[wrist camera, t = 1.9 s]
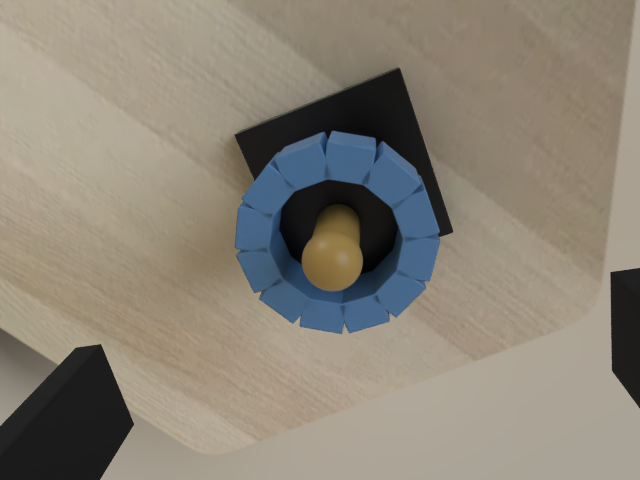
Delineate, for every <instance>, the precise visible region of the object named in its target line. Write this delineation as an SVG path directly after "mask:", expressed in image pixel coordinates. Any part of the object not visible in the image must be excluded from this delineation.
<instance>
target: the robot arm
mask: <svg viewBox="0 0 640 480" xmlns="http://www.w3.org/2000/svg"><path fill="white" fill-rule="evenodd" d="M611 335H612V336H611V338H612V371H613V373H614V374H615V375H616V377H617V378H618V379H619V381H620V382H621V383H622V385H623V386H624V387H625V389H626V390H627V391H628V393H629V394H630V396H631V397H632V398H633V400H634V401H635V402H636V403H637V405H638V406H639V408H640V268H637V269H630V270H623V271H616V272H611ZM133 425H134V423H133V421H132V418H131V416H130V414H129V411H128V409H127V406H126V404H125V401H124V399H123V396H122V394H121V392H120V389H119V387H118V384H117V382H116V379H115V377H114V375H113V372H112V370H111V367H110V365H109V363H108V360H107V358H106V355H105V353H104V350H103V348H102V346H101V344H99V345H92V346H85V347H78V348H75V349H74V350H73V351H72V352H71V353H70V354H69V355H68V356H67V358H66V359H65V360H64V361H63V362H62V363H61V364H60V365H59V366H58V367H57V368H56V369H55V370H54V371H53V372H52V373H51V374H50V375H49V376H48V377H47V378H46V379H45V380H44V382H42V383H41V384H40V386H39V387H38V388H37V389H36V390H35V391H34V392H33V393H32V394H31V395H30V396H29V397H28V398H27V399H26V400H25V401H24V402H23V403H22V404H21V405H20V406H19V407H18V408H17V410H15V411H14V413H13V414H12V415H11V416H10V417H9V418H8V419H7V420H6V421H5V422H4V423H3V424H2V425H1V426H0V480H100V479H101V477H102V475H103V474H104V472H105V470H106V469H107V467H108V466H109V464H110V462H111V461H112V459H113V458H114V456H115V454H116V453H117V451H118V449H119V448H120V446H121V445H122V443H123V441H124V440H125V438H126V437H127V435H128V433H129V432H130V430H131V428H132V427H133Z"/></svg>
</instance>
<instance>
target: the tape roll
mask: <svg viewBox="0 0 640 480" xmlns="http://www.w3.org/2000/svg"><path fill="white" fill-rule="evenodd" d="M327 179H329V180H335V181H341V182H347V183H353V184H359V185H364V186H365V187H366V188H367V189H369V190H370V191H371V192H372V193H374V194H375V195H376V196H377V197H379V198H380V199H381V200H382V201H383V202H385V203H386V204H387V205H388V206H390V207H391V209H392V211H393V214H394V217H395V220H396V222H397V225H398V229H397V234H396V239H395V243H394V248H393V250H392V251H391V252H390V253H389V254H388V255H387V256H386V257H385V258H384V259H383V261H382V262H381V263H380V264H379V265H378V266H377V267H376V268H375V269H374V270H373V271H370V272H367V273H364V274H361V275H359V277H358V278H357V280H356V281H355V282H354V283H353V284H352V285H350V286H349V287H347V288H346V289H343V290H340V291H325V290H321V289H319V288H317V287H316V286H314V285H313V284H312V283H311V282H310V281H309V280H308V279H307V277H306V276H305V274H304V271H303V267H302V264H300V263H299V262H298V261H296V260H295V259H294V258H293V257H291V255H290V253H289V250H288V248H287V246H286V244H285V241H284V239H283V237H282V235H281V232H280V230H279V228H280V220H281V212H282V206H283V205H284V204H285V203H286V201H287V200H288V199H289V198H290V196H291V195H292V194H293V193H294V192H295V191H297V190H300V189H303V188H306V187H308V186H311V185H314V184H317V183H319V182H322V181H325V180H327ZM242 200H243V202H242V203H241V204H240V206H239V207H238V216H237V227H236V239H235V248H236V249H240V250H239V252H238V254H237V255H236V257H237V259H238V261H239V263H240V265H241V267H242V269H243V271H244V273H245V275H246V277H247V279H248V281H249V283H250V286H251V288H252V290H253V292H254V293H256V292H260V291H262V293H261V295H260V297H259V299H260V300H261V301H263V302H264V303H265V304H267V305H268V306H269V307H271V308H272V309H273V310H275V311H276V312H278V313H279V314H280V315H282V316H283V317H284V318H286V319H287V320H289V321H290V322H291V323H294V322H295V321H296V320H297V319H298V318H299V317H300V316H301V319H300V327H305V328H310V329H316V330H322V331H328V332H333V333H339V334H342V331H343V326H344V323H345V325H346V328H347V330H348V332H349V333H352V332H355V331H359V330H362V329H366V328H369V327H372V326H376V325H379V324H383V323H386V322H389V321H390V318H389V313H390V314H392V315H393V316H394V317H397V316H398V315H399V314H400V313H401V312H402V311H404V310H405V309H406V308H407V307H408V306H409V305H410V304H411V303H412V302H413V301H414V300H415V299H416V298H417V297H418V296H419V295H420V294H421V293H422V292H423V291H424V290H425V289H426V286H425V282H424V281H430V280H431V276H432V272H433V268H434V264H435V260H436V256H437V252H438V248H439V244H440V239H439V236H438V233H439V232H440V230H439V227H438V224H437V221H436V218H435V215H434V212H433V209H432V206H431V203H430V200H429V197H428V194H427V192H426V189H425V186H424V184H423V181H422V178H421V176H420V175H418V173H417V171H416V168H415V167H413V166H412V165H411V164H410V163H409V162H407V161H406V160H405V159H404V158H403V157H401V156H400V155H399V154H398V153H397V152H395V151H394V150H393V149H392V148H391V147H389V146H388V145H387V144H386V143H385V142H383V141H382V142H381V143H380V144H379V146H378V147H377V148H376V139H375V138H373V137H367V136H361V135H354V134H348V133H342V132H336V131H332V132H331V134H330V137H329V139H327V136H326V134H325V132H322V133H319V134H317V135H314V136H312V137H309V138H306V139H304V140H301V141H299V142H296V143H294V144H291V145H288V146H286V147H284V148H283V150H282V151H281V152H278V153H277V154H276V155H275V156H274V157H273V158H272V160H271V161H270V162H269V163H268V164H267V166H266V167H265V168H264V170H263V171H262V172H261V173H260V175H259V176H258V177H257V179H256V180H255V181H254V183H253V184H252V185H251V187H250V188H249V189H248V191H247V192H246V193H245V194H244V196H243V197H242Z"/></svg>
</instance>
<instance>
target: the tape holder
mask: <svg viewBox="0 0 640 480" xmlns="http://www.w3.org/2000/svg"><path fill="white" fill-rule="evenodd" d="M332 131H336V132H342V133H348V134H354V135H361V136H367V137H373V138H375V139H376V148H377V147H378V146H379V144H380V143H381V142H382V141H383V142H385V143H386V144H387V145H388V146H389V147H391V148H392V149H393V150H394V151H395V152H397V153H398V154H399V155H400V156H401V157H403V158H404V159H405V160H406V161H407V162H409V163H410V164H411V165H412V166H413V167H415V168H416V171H417V173H418V175H420V176H421V178H422V181H423V184H424V186H425V189H426V192H427V194H428V197H429V200H430V203H431V206H432V209H433V212H434V215H435V218H436V221H437V224H438V227H439V230H440V232H439V233H438V236H439V237H441V236H444V235H447V234H450V233H453V229H452V226H451V223H450V220H449V217H448V214H447V211H446V208H445V205H444V202H443V199H442V196H441V192H440V189H439V186H438V183H437V180H436V177H435V174H434V171H433V168H432V165H431V162H430V159H429V156H428V153H427V150H426V147H425V144H424V141H423V137H422V134H421V131H420V128H419V125H418V122H417V119H416V116H415V113H414V110H413V107H412V104H411V101H410V98H409V95H408V92H407V89H406V86H405V82H404V79H403V76H402V73H401V70H400V68H399V67H398V68H395V69H393V70H390V71H388V72H385V73H383V74H380V75H378V76H375V77H373V78H370V79H368V80H365V81H363V82H361V83H358V84H356V85H353V86H351V87H348V88H346V89H343V90H341V91H338V92H336V93H333V94H331V95H328V96H326V97H323V98H321V99H318V100H316V101H314V102H311V103H309V104H306V105H304V106H301V107H299V108H296V109H294V110H291V111H289V112H286V113H284V114H281V115H279V116H276V117H274V118H271V119H269V120H267V121H264V122H262V123H259V124H257V125H254V126H252V127H249V128H247V129H244V130H242V131H239V132H238V133H237V134H235V137H236V140H237V142H238V144H239V146H240V149H241V151H242V153H243V155H244V158H245V160H246V162H247V164H248V167H249V169H250V171H251V173H252V176H253V178H254V180H256V179H257V177H258V176H259V175H260V173H261V172H262V171H263V170H264V168H265V167H266V166H267V164H268V163H269V162H270V161H271V160H272V158H273V157H274V156H275V155H276V154H277V153H278V152H281V151H282V150H283V148H284V147H286V146H288V145H291V144H294V143H296V142H299V141H301V140H304V139H306V138H309V137H312V136H314V135H317V134H319V133H322V132H325V134H326V136H327V139H329V137H330V134H331V132H332ZM397 229H398V225H397V222H396V220H395V217H394V214H393V211H392V209H391V207H390V206H388V205H387V204H386V203H385V202H383V201H382V200H381V199H380V198H379V197H377V196H376V195H375V194H374V193H372V192H371V191H370V190H369V189H367V188H366V187H365V186H364V185H359V184H353V183H347V182H341V181H335V180H329V179H327V180H325V181H322V182H319V183H317V184H314V185H311V186H308V187H306V188H303V189H300V190H297V191H295V192H294V193H293V194H292V195H291V196H290V198H289V199H288V200H287V201H286V203H285V204H284V205H283V206H282V212H281V220H280V228H279V230H280V232H281V235H282V237H283V239H284V241H285V244H286V246H287V248H288V250H289V253H290V255H291V257H293V258H294V259H295V260H296V261H298V262H299V263H300V264H302V267H303V271H304V274H305V276H306V277H307V279H308V280H309V281H310V282H311V283H312V284H313V285H314V286H316V287H317V288H319V289H321V290H325V291H340V290H343V289H346V288H347V287H349V286H350V285H352V284H353V283H354V282H355V281H356V280H357V278H358V277H359V275H361V274H364V273H367V272H370V271H373V270H374V269H375V268H376V267H377V266H378V265H379V264H380V263H381V262H382V261H383V259H384V258H385V257H386V256H387V255H388V254H389V253H390V252H391V251H392V250H393V248H394V243H395V239H396V234H397Z"/></svg>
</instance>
